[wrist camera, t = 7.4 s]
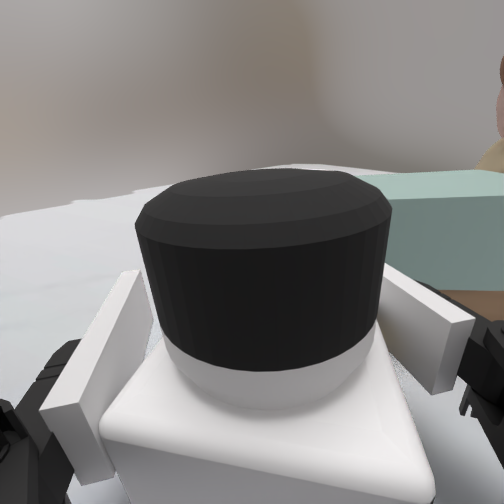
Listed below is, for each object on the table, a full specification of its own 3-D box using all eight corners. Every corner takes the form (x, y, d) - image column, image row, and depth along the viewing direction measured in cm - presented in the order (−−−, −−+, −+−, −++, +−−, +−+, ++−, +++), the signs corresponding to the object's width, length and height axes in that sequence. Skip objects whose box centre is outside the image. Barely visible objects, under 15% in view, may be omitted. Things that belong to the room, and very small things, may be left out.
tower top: (568, 292, 13) (616, 191, 11) (376, 288, 14) (389, 199, 12) (462, 233, 21) (479, 169, 19) (347, 234, 23) (352, 175, 21)
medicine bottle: (389, 642, 7) (569, 202, 2) (154, 567, 9) (-17, 213, 4) (352, 401, 13) (380, 156, 9) (221, 384, 15) (187, 167, 10)
